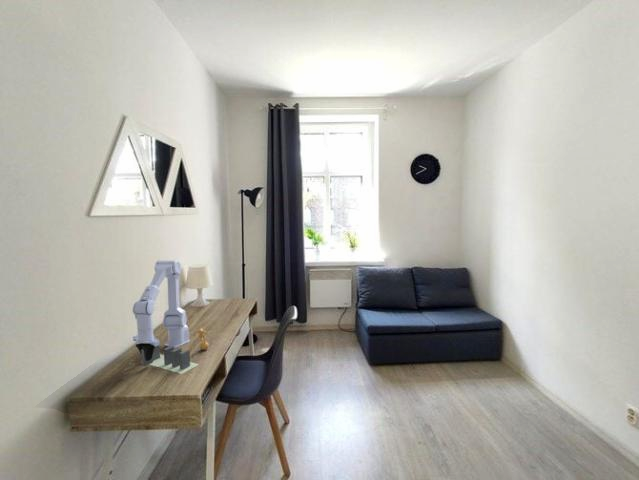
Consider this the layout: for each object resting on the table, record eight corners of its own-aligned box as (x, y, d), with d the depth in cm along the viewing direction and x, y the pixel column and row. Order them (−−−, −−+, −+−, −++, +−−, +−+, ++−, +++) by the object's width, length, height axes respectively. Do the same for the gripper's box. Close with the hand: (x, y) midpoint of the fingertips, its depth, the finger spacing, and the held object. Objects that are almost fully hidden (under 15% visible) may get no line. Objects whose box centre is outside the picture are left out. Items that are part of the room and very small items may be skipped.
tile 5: (179, 369, 131) (179, 353, 131) (187, 365, 135) (186, 349, 134) (182, 369, 130) (182, 353, 130) (190, 365, 134) (189, 350, 133)
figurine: (214, 348, 152) (213, 324, 151) (208, 353, 146) (207, 329, 145) (198, 347, 153) (197, 324, 152) (192, 353, 147) (190, 328, 146)
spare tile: (142, 365, 131) (141, 349, 131) (150, 361, 135) (149, 345, 134) (144, 366, 130) (143, 350, 130) (153, 362, 134) (152, 346, 133)
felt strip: (158, 354, 146) (158, 353, 146) (198, 364, 135) (198, 364, 135) (140, 362, 138) (140, 361, 138) (181, 374, 127) (181, 373, 127)
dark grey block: (172, 366, 133) (171, 351, 133) (179, 362, 137) (178, 347, 136) (174, 367, 133) (174, 351, 132) (182, 363, 136) (181, 348, 135)
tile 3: (164, 364, 135) (163, 349, 135) (171, 360, 139) (171, 345, 138) (167, 365, 135) (166, 349, 134) (174, 361, 138) (173, 346, 137)
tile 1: (149, 360, 140) (149, 345, 139) (157, 357, 143) (156, 342, 142) (152, 361, 139) (151, 346, 138) (160, 357, 142) (159, 342, 142)
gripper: (125, 329, 131) (127, 360, 132) (147, 334, 124) (149, 366, 126) (140, 323, 137) (143, 353, 138) (163, 328, 131) (165, 359, 132)
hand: (147, 359), depth 132 cm, fingers closed on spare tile, 2 cm apart
